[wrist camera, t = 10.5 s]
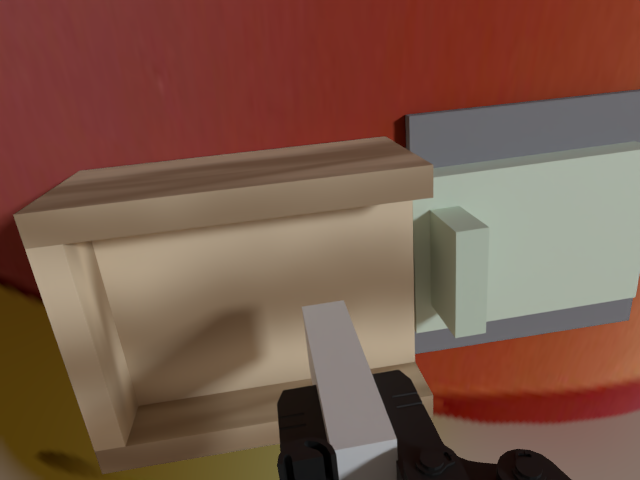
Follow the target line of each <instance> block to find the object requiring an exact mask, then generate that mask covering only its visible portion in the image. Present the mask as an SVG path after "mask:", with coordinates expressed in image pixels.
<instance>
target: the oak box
mask: <svg viewBox="0 0 640 480" xmlns="http://www.w3.org/2000/svg"><path fill="white" fill-rule="evenodd" d="M427 198H433V164H431V163H430V162H428V161H426V160H424V159H423V158H421V157H419V156H418V155H416V154H414V153H413V152H411V151H409V150H407V149H406V148H404V147H402V146H401V145H399V144H397V143H396V142H394V141H392V140H390V139H389V138H387V137H376V138H367V139H359V140H350V141H341V142H332V143H323V144H314V145H305V146H296V147H287V148H278V149H269V150H261V151H252V152H243V153H234V154H225V155H216V156H207V157H198V158H189V159H180V160H172V161H163V162H154V163H145V164H136V165H127V166H118V167H109V168H100V169H91V170H82V171H79V172H77V173H76V174H74V175H73V176H71V177H70V178H68V179H67V180H65V181H63V182H62V183H60V184H59V185H57V186H56V187H54V188H53V189H51V190H50V191H48V192H47V193H45V194H44V195H42V196H41V197H39V198H38V199H36V200H35V201H33V202H32V203H30V204H29V205H27V206H26V207H24V208H23V209H21V210H20V211H18V212H17V213H15V214H14V215H13V216H14V219H15V222H16V225H17V227H18V230H19V233H20V236H21V239H22V242H23V245H24V248H25V251H26V254H27V256H28V259H29V262H30V265H31V268H32V271H33V274H34V277H35V280H36V283H37V286H38V288H39V291H40V294H41V297H42V300H43V303H44V306H45V309H46V312H47V315H48V317H49V320H50V323H51V326H52V329H53V332H54V335H55V338H56V341H57V343H58V347H59V349H60V352H61V355H62V358H63V361H64V363H65V367H66V369H67V373H68V376H69V378H70V381H71V384H72V387H73V390H74V393H75V396H76V399H77V402H78V405H79V407H80V410H81V413H82V416H83V419H84V422H85V425H86V428H87V431H88V433H89V437H90V439H91V442H92V445H93V448H94V451H95V454H96V457H97V459H98V463H99V466H100V469H101V471H102V474H105V473H111V472H117V471H122V470H129V469H134V468H140V467H146V466H152V465H157V464H164V463H169V462H175V461H181V460H187V459H192V458H199V457H204V456H210V455H216V454H222V453H227V452H234V451H239V450H245V449H251V448H256V447H263V446H268V445H275V444H280V438H279V425H278V412H277V402H278V400H279V398H280V396H281V393H282V391H283V390H288V389H294V388H300V387H305V386H311V385H313V384H312V379H311V374H310V368H309V360H308V352H307V344H306V336H305V328H304V320H303V312H302V307H303V306H310V305H316V304H323V303H329V302H336V301H342V300H344V302H345V305H346V307H347V310H348V313H349V315H350V318H351V320H352V323H353V326H354V328H355V331H356V334H357V336H358V339H359V341H360V344H361V347H362V349H363V352H364V354H365V357H366V360H367V362H368V365H369V367H370V370H371V373H372V374H375V373H381V372H387V371H393V370H400V371H401V372H403V373H404V374H405V375H406V376H408V377H409V378H410V379H411V380H412V382H413V384H414V386H415V388H416V390H417V394H419V396H420V398H421V400H422V404H424V406H425V408H426V410H427V412H428V414H429V416H430V418H432V417H433V394H432V392H431V391H430V389H429V387H428V385H427V383H426V381H425V379H424V378H423V376H422V374H421V372H420V370H419V368H418V366H417V365H416V363H415V328H414V263H413V200H419V199H427Z"/></svg>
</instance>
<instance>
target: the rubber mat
mask: <svg viewBox="0 0 640 480" xmlns="http://www.w3.org/2000/svg"><path fill="white" fill-rule="evenodd" d="M405 122H406V149H407V150H409V151H411V152H413V153H414V154H416V155H418V156H419V157H421V158H423V159H424V160H426V161H428V162H430V163H431V164H433V168H439V167H446V166H454V165H461V164H469V163H476V162H484V161H491V160H498V159H506V158H513V157H521V156H528V155H536V154H543V153H551V152H558V151H566V150H573V149H581V148H588V147H596V146H603V145H611V144H618V143H626V142H633V141H636V142H640V89H639V90H630V91H621V92H612V93H602V94H593V95H584V96H575V97H566V98H556V99H547V100H538V101H529V102H519V103H510V104H501V105H492V106H482V107H473V108H464V109H455V110H446V111H436V112H427V113H418V114H409V115H405ZM632 299H633V298H627V299H621V300H615V301H609V302H603V303H597V304H591V305H585V306H579V307H573V308H567V309H561V310H555V311H549V312H543V313H537V314H531V315H525V316H519V317H513V318H506V319H500V320H494V321H488V322H486V333H483V334H477V335H471V336H465V337H459V338H455V337H454V336H453V334H452V333H451V331H450V330H449V329H448V328H446V329H440V330H434V331H428V332H422V333H416V332H415V354H418V353H424V352H430V351H437V350H443V349H449V348H456V347H462V346H468V345H475V344H481V343H487V342H494V341H500V340H506V339H513V338H519V337H525V336H532V335H538V334H544V333H551V332H557V331H564V330H570V329H576V328H583V327H589V326H595V325H602V324H608V323H614V322H621V321H627V320H629V316H630V311H631V305H632Z"/></svg>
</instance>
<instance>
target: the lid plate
mask: <svg viewBox="0 0 640 480" xmlns="http://www.w3.org/2000/svg"><path fill="white" fill-rule="evenodd" d="M413 263H414V328H415V332H416V333H422V332H428V331H434V330H440V329H446V328H448V329H449V330H450V331H451V333H452V334H453V336H454V337H455V338H459V337H465V336H471V335H477V334H483V333H486V322H488V321H494V320H500V319H506V318H513V317H519V316H525V315H531V314H537V313H543V312H549V311H555V310H561V309H567V308H573V307H579V306H585V305H591V304H597V303H603V302H609V301H615V300H621V299H627V298H633V297H636V291H637V285H638V279H639V273H640V142H636V141H633V142H626V143H618V144H611V145H603V146H596V147H588V148H581V149H573V150H566V151H558V152H551V153H543V154H536V155H528V156H521V157H513V158H506V159H498V160H491V161H484V162H476V163H469V164H461V165H454V166H446V167H439V168H433V198H427V199H419V200H413Z"/></svg>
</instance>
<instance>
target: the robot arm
mask: <svg viewBox="0 0 640 480" xmlns="http://www.w3.org/2000/svg"><path fill="white" fill-rule="evenodd" d="M302 312H303V320H304V328H305V336H306V344H307V352H308V360H309V368H310V374H311V379H312V384H313V385H311V386H305V387H300V388H294V389H288V390H283V391H282V393H281V396H280V398H279V400H278V402H277V412H278V425H279V438H280V451H281V453H280V454H279V458H278V464H277V467H278V472H279V478H280V480H571V479H570V478H569V477H568V476H567V475H566V474H565V473H564V472H562V471H561V470H560V469H559V468H558V467H557V466H556V465H555V464H554V463H553V462H551V461H550V460H549V459H547V458H546V457H544V456H543V455H541V454H539V453H536V452H533V451H531V450H523V449H516V450H511V451H507V452H506V453H504V454H503V455H502V456H500V459H499V461H498V463H497V464H490V463H480V462H473V461H468V460H465V459H463V458H460V457H458V456H457V455H456V454H455V453H454V451H452V450H451V449H450V448H448V447H447V446H445V445H444V444H443V442H442V441H441V439H440V437H439V435H438V433H437V431H436V428H435V426H434V425H433V423H432V420H431V418H430V416H429V414H428V412H427V410H426V408H425V406H424V404H422V400H421V398H420V396H419V394H417V390H416V388H415V386H414V384H413V382H412V380H411V379H410V378H409V377H408V376H406V375H405V374H404V373H403V372H401V371H400V370H393V371H387V372H381V373H375V374H372V373H371V370H370V367H369V365H368V362H367V360H366V357H365V354H364V352H363V349H362V347H361V344H360V341H359V339H358V336H357V334H356V331H355V328H354V326H353V323H352V320H351V318H350V315H349V313H348V310H347V307H346V305H345V302H344V300H342V301H336V302H329V303H323V304H316V305H310V306H303V307H302Z"/></svg>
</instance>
